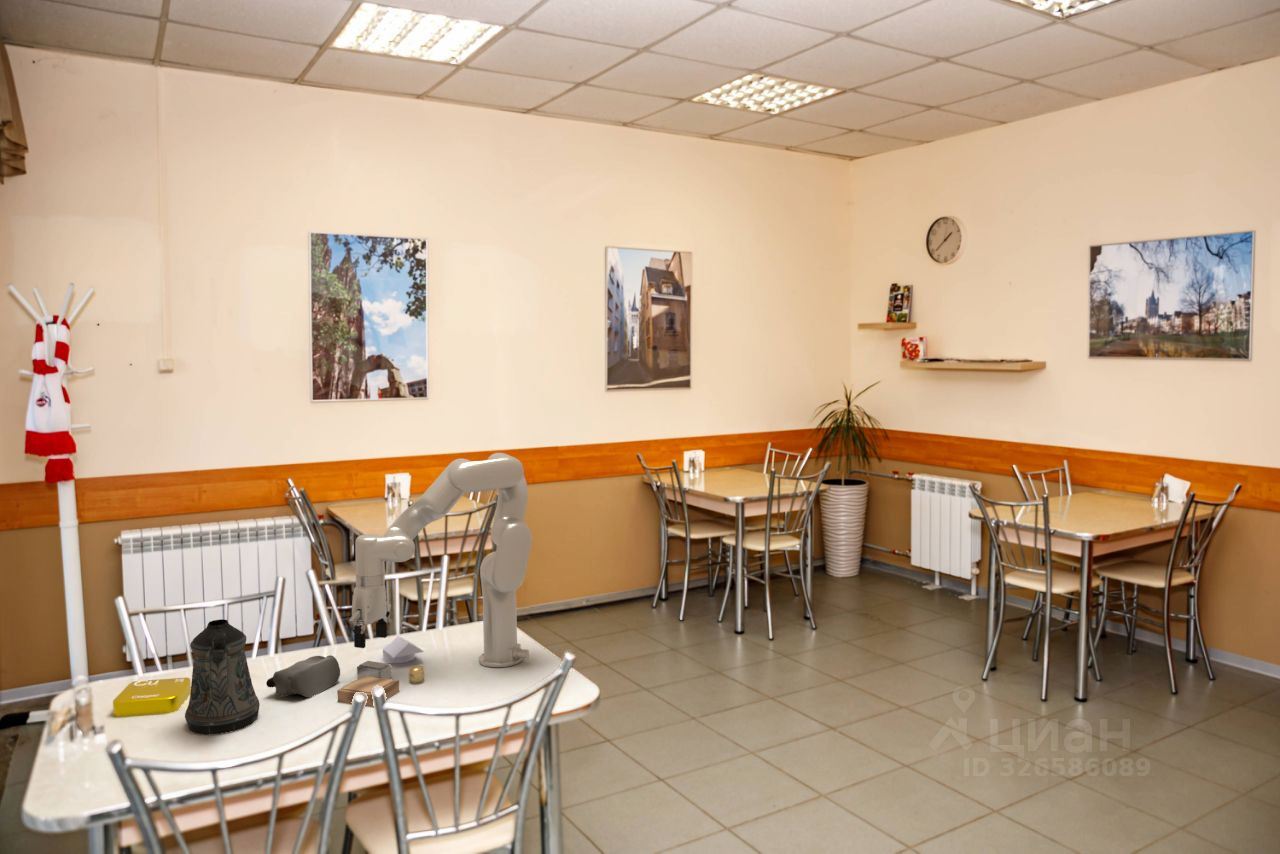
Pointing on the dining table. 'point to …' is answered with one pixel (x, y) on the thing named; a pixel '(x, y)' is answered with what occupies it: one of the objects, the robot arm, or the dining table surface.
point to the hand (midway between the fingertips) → (370, 642)
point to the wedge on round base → (400, 651)
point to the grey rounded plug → (306, 677)
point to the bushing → (416, 674)
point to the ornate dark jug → (220, 682)
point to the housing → (374, 670)
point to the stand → (367, 688)
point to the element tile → (152, 697)
